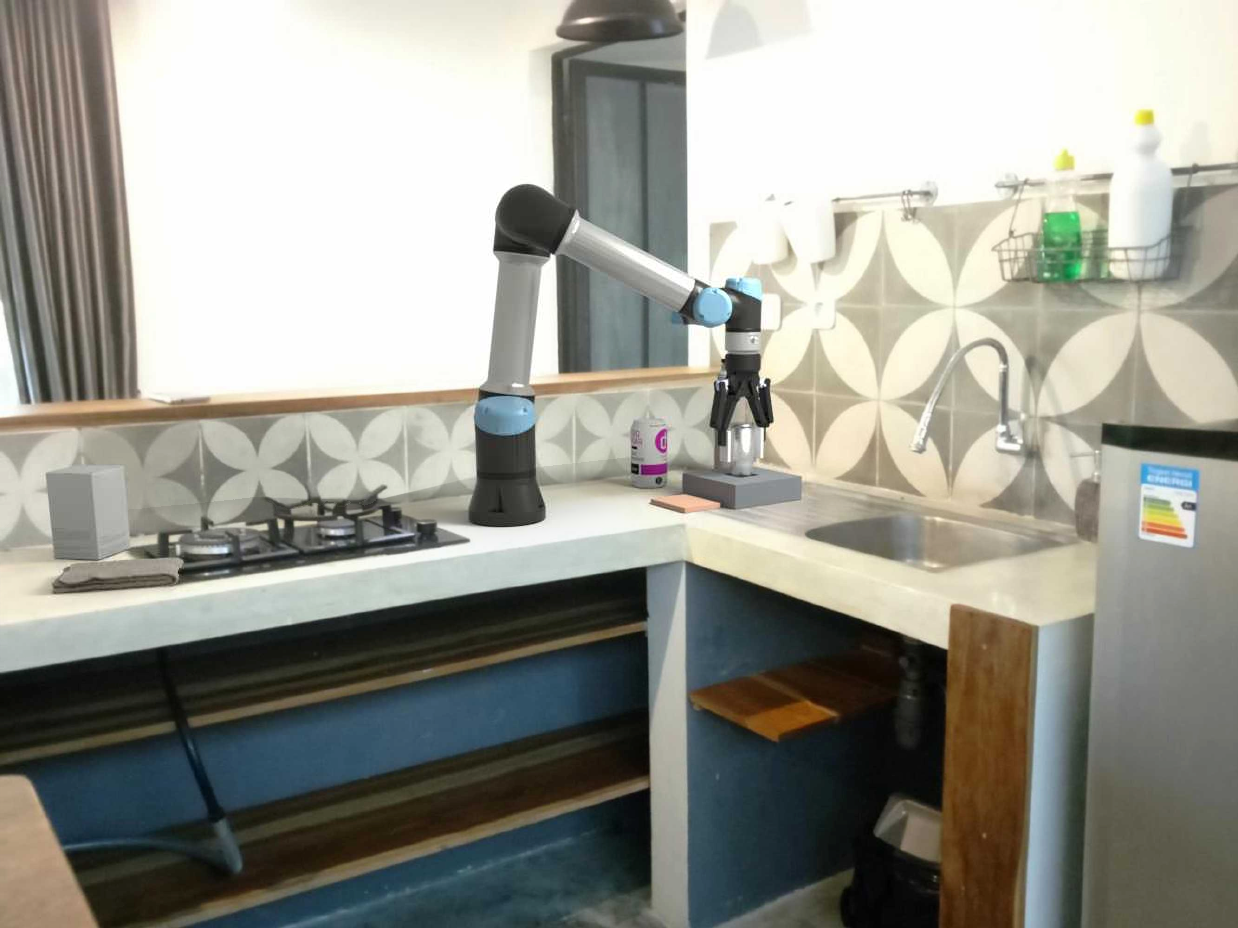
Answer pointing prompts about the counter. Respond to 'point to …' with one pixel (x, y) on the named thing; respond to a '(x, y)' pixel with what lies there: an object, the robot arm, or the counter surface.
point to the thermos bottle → (738, 416)
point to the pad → (685, 503)
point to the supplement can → (649, 453)
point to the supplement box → (88, 511)
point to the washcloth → (118, 575)
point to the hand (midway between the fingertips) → (741, 459)
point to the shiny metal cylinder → (742, 449)
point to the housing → (742, 487)
